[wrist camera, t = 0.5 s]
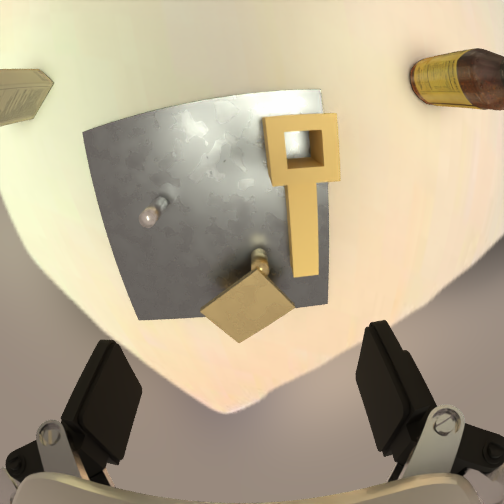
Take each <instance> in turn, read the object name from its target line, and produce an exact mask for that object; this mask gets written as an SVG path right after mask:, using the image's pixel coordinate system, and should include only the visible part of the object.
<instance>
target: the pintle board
mask: <svg viewBox="0 0 504 504" xmlns="http://www.w3.org/2000/svg"><path fill="white" fill-rule="evenodd" d="M319 113H323V107H322V97H321V89H307V90H285V91H271V92H260V93H250V94H241V95H234V96H226V97H220V98H213V99H207V100H201V101H196V102H190V103H185V104H180V105H176V106H171V107H167V108H162V109H158V110H154V111H150V112H146V113H142V114H139V115H135V116H131V117H128V118H124V119H121V120H118V121H114V122H111V123H108V124H105V125H102V126H99V127H96V128H93V129H90V130H87V131H85V132H82V133H83V138H84V144H85V149H86V154H87V159H88V164H89V168H90V173H91V177H92V181H93V185H94V189H95V193H96V197H97V201H98V205H99V209H100V212H101V216H102V219H103V223H104V226H105V229H106V232H107V236H108V239H109V242H110V245H111V248H112V251H113V254H114V257H115V260H116V263H117V266H118V269H119V271H120V274H121V277H122V280H123V282H124V285H125V288H126V290H127V293H128V295H129V298H130V300H131V303H132V305H133V308H134V310H135V313H136V315H137V317H138V320H158V319H177V318H194V317H207V318H208V319H209V320H211V321H212V322H213V323H214V324H215V325H217V326H218V327H219V328H220V329H222V330H223V331H224V332H225V333H227V334H228V335H229V336H230V337H232V338H233V339H234V340H235V341H237V342H238V343H240V342H242V341H244V340H245V339H247V338H249V337H250V336H252V335H253V334H255V333H257V332H258V331H260V330H261V329H263V328H265V327H266V326H268V325H269V324H271V323H272V322H274V321H276V320H277V319H279V318H280V317H282V316H283V315H285V314H286V313H288V312H289V311H291V310H292V309H294V308H299V307H307V306H315V305H322V304H328V273H329V209H328V182H320V183H316V187H317V210H318V253H319V275H312V276H303V277H295V278H294V277H293V273H292V269H291V265H290V250H289V235H288V221H287V208H286V195H285V186H275V187H273V186H272V183H271V180H270V178H269V175H268V167H267V158H266V149H265V140H264V131H263V122H262V117H270V116H282V115H297V114H319ZM284 136H285V146H286V157H287V159H291V158H304V157H311V153H310V140H309V131H293V132H284Z"/></svg>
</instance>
